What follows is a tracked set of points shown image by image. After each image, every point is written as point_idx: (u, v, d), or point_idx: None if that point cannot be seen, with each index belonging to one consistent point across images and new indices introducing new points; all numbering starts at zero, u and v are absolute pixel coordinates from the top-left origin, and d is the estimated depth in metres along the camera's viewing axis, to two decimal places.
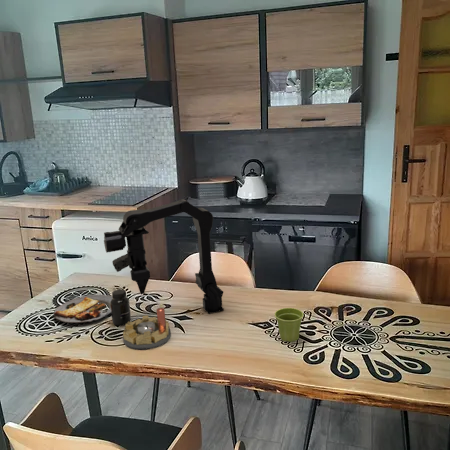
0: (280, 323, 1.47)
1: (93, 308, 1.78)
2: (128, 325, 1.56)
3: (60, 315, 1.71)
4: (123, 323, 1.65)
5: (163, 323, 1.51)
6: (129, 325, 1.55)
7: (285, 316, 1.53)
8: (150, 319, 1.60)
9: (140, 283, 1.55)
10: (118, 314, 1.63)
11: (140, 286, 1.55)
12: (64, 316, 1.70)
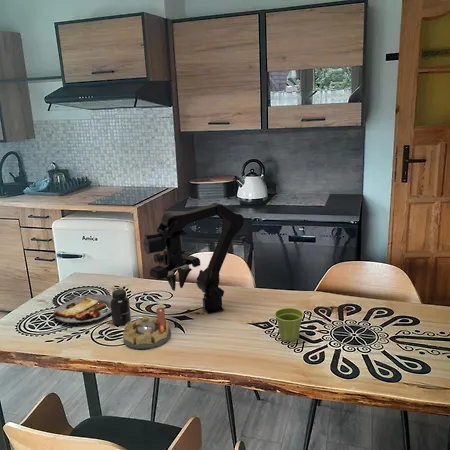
0: (280, 323, 1.47)
1: (93, 308, 1.78)
2: (128, 325, 1.56)
3: (60, 315, 1.71)
4: (123, 323, 1.65)
5: (163, 323, 1.51)
6: (129, 325, 1.55)
7: (285, 316, 1.53)
8: (150, 319, 1.60)
9: (169, 280, 1.62)
10: (118, 314, 1.63)
11: (169, 282, 1.62)
12: (64, 316, 1.70)
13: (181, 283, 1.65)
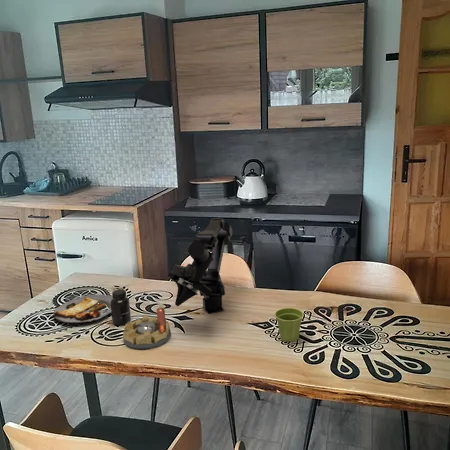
0: (280, 323, 1.47)
1: (93, 308, 1.78)
2: (128, 325, 1.56)
3: (60, 315, 1.71)
4: (123, 323, 1.65)
5: (163, 323, 1.51)
6: (129, 325, 1.55)
7: (285, 316, 1.53)
8: (150, 319, 1.60)
9: (184, 295, 1.55)
10: (118, 314, 1.63)
11: (182, 297, 1.54)
12: (64, 316, 1.70)
13: None
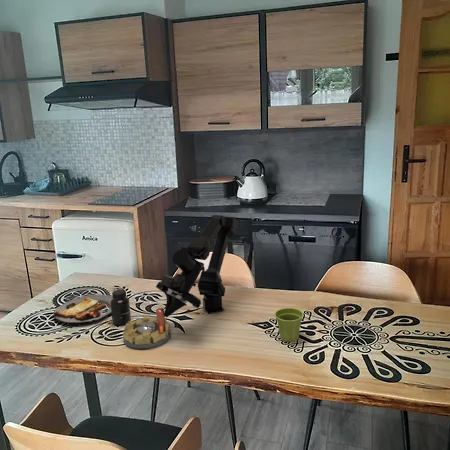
0: (280, 323, 1.47)
1: (93, 308, 1.78)
2: (128, 325, 1.56)
3: (60, 315, 1.71)
4: (123, 323, 1.65)
5: (162, 323, 1.51)
6: (129, 325, 1.56)
7: (285, 316, 1.53)
8: (151, 319, 1.60)
9: (173, 306, 1.52)
10: (118, 314, 1.63)
11: (171, 308, 1.52)
12: (64, 316, 1.70)
13: None
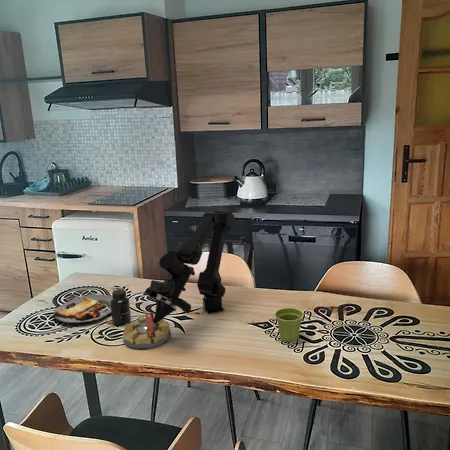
0: (280, 323, 1.47)
1: (93, 308, 1.78)
2: (138, 319, 1.60)
3: (60, 315, 1.71)
4: (123, 323, 1.65)
5: (149, 329, 1.47)
6: (139, 319, 1.59)
7: (285, 316, 1.53)
8: (161, 321, 1.58)
9: (163, 311, 1.48)
10: (118, 314, 1.63)
11: (160, 314, 1.48)
12: (64, 316, 1.70)
13: None
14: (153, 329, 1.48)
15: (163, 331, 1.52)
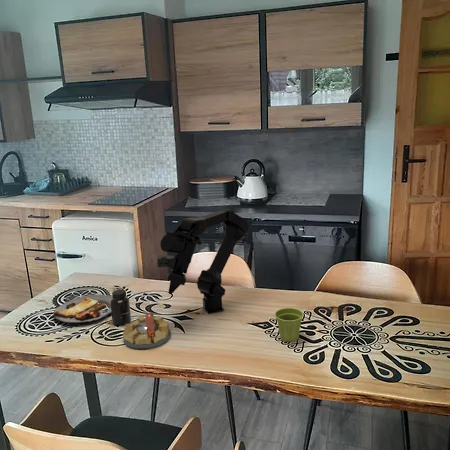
0: (280, 323, 1.47)
1: (93, 308, 1.78)
2: (138, 319, 1.60)
3: (60, 315, 1.71)
4: (123, 323, 1.65)
5: (149, 329, 1.47)
6: (139, 319, 1.59)
7: (285, 316, 1.53)
8: (161, 321, 1.58)
9: (173, 283, 1.60)
10: (118, 314, 1.63)
11: (171, 286, 1.60)
12: (64, 316, 1.70)
13: None
14: (153, 329, 1.48)
15: (163, 331, 1.52)
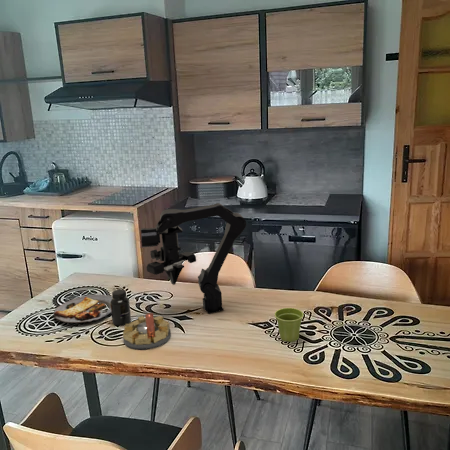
0: (280, 323, 1.47)
1: (93, 308, 1.78)
2: (138, 319, 1.60)
3: (60, 315, 1.71)
4: (123, 323, 1.65)
5: (149, 329, 1.47)
6: (139, 319, 1.59)
7: (285, 316, 1.53)
8: (161, 321, 1.58)
9: (169, 274, 1.67)
10: (118, 314, 1.63)
11: (169, 276, 1.68)
12: (64, 316, 1.70)
13: None
14: (153, 329, 1.48)
15: (163, 331, 1.52)
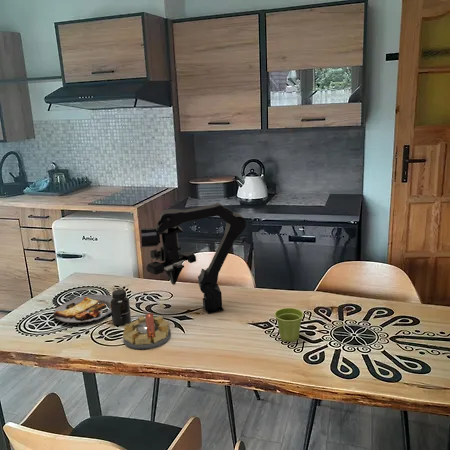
0: (280, 323, 1.47)
1: (93, 308, 1.78)
2: (138, 319, 1.60)
3: (60, 315, 1.71)
4: (123, 323, 1.65)
5: (149, 329, 1.47)
6: (139, 319, 1.59)
7: (285, 316, 1.53)
8: (161, 321, 1.58)
9: (169, 274, 1.67)
10: (118, 314, 1.63)
11: (169, 276, 1.68)
12: (64, 316, 1.70)
13: None
14: (153, 329, 1.48)
15: (163, 331, 1.52)
